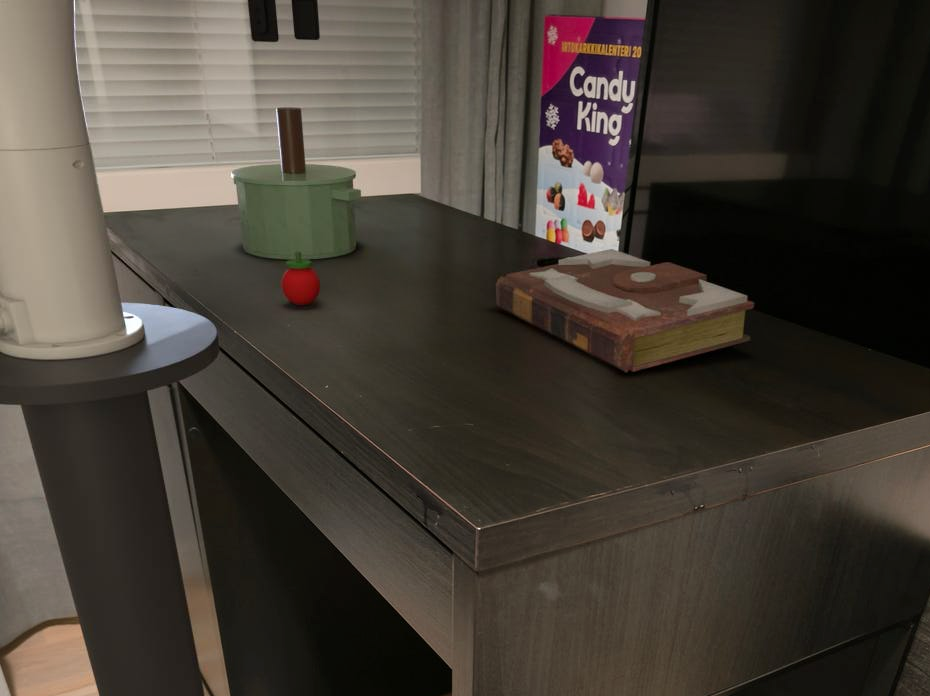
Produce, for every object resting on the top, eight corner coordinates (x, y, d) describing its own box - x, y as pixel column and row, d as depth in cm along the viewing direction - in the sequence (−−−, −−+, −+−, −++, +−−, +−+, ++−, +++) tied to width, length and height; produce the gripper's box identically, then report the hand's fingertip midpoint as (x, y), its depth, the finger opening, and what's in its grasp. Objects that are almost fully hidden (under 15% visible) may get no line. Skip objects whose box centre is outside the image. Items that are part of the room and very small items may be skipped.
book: (497, 317, 98) (494, 268, 95) (618, 290, 103) (619, 243, 100) (620, 383, 81) (622, 326, 78) (757, 346, 86) (764, 291, 83)
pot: (318, 268, 112) (312, 191, 107) (206, 246, 121) (196, 174, 116) (394, 249, 122) (391, 178, 117) (284, 230, 131) (278, 163, 126)
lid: (296, 195, 108) (289, 116, 103) (205, 182, 115) (195, 107, 111) (381, 181, 119) (378, 109, 114) (293, 169, 126) (287, 101, 121)
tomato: (296, 311, 95) (291, 257, 92) (276, 303, 98) (270, 250, 95) (328, 305, 97) (324, 252, 94) (308, 298, 100) (304, 246, 97)
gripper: (280, -140, 105) (295, 38, 115) (193, -162, 92) (218, 41, 102) (339, -142, 103) (349, 39, 113) (258, -165, 90) (277, 43, 100)
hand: (287, 40), depth 108 cm, fingers open, 9 cm apart
